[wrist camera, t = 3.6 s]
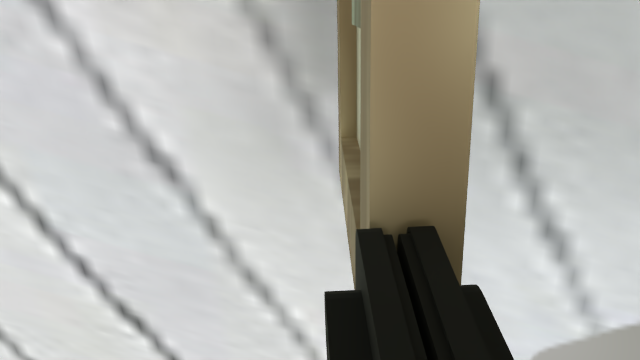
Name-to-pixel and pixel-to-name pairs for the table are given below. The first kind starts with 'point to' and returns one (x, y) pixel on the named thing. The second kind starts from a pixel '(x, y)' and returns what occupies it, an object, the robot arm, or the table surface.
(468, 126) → the picture frame
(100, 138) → the table surface
